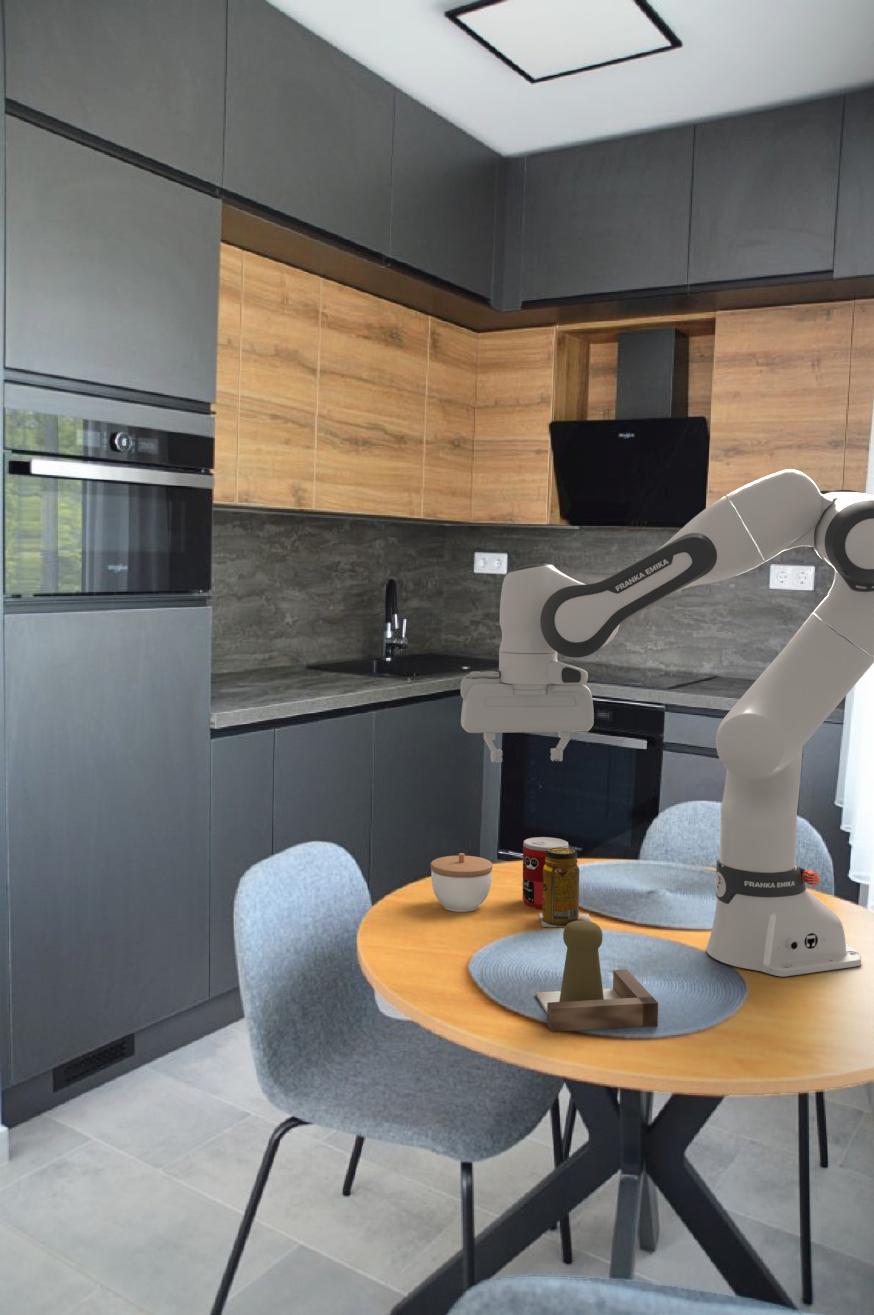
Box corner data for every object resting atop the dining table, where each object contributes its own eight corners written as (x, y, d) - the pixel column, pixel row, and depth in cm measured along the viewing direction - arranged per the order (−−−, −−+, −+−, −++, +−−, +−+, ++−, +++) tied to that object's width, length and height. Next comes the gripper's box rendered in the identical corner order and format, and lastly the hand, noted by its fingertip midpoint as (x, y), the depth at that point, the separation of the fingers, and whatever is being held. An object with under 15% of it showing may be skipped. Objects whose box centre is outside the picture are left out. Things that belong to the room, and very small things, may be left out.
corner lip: (626, 990, 148) (627, 969, 148) (657, 1025, 137) (658, 1003, 136) (528, 995, 146) (528, 974, 146) (551, 1032, 134) (551, 1008, 134)
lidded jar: (504, 908, 186) (505, 855, 185) (457, 920, 179) (458, 865, 178) (464, 894, 194) (465, 843, 193) (417, 905, 187) (418, 852, 186)
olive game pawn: (607, 1013, 139) (609, 930, 139) (561, 1013, 139) (562, 930, 139) (601, 995, 145) (602, 916, 145) (556, 995, 145) (557, 915, 145)
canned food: (523, 896, 193) (524, 836, 192) (568, 898, 192) (569, 837, 191) (520, 909, 185) (521, 846, 185) (567, 911, 184) (568, 848, 184)
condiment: (538, 914, 183) (539, 845, 182) (588, 914, 183) (589, 845, 182) (542, 928, 175) (543, 856, 174) (594, 928, 175) (595, 856, 174)
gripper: (464, 673, 158) (463, 765, 159) (598, 672, 161) (596, 763, 162) (457, 669, 164) (456, 759, 165) (585, 669, 167) (584, 756, 168)
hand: (526, 761), depth 164 cm, fingers open, 8 cm apart
